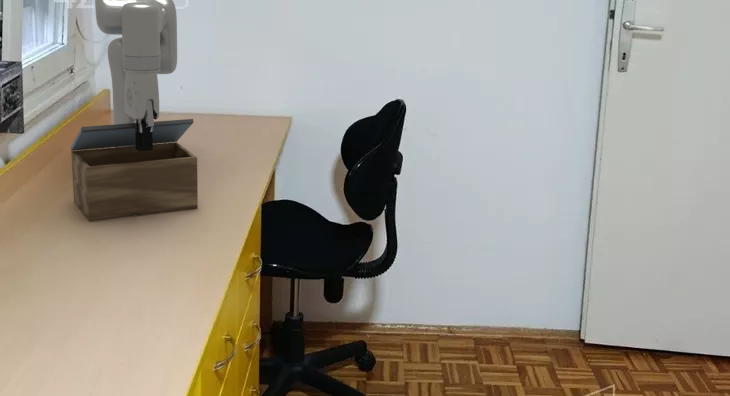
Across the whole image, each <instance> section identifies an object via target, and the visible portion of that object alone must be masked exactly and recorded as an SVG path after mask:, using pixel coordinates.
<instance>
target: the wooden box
mask: <svg viewBox="0 0 730 396" xmlns="http://www.w3.org/2000/svg"><path fill="white" fill-rule="evenodd" d="M70 152H71V168H72V170H71V171H72V173H71V174H72V185H73V186H72V191H73V203H74V205H76V207H77V208H78V210H79V211H80V212H81V213H82V214H83V215H84V217H85V218H86V220H87V221H88V222H89V223H90V222H98V221H99V222H100V221H107V220H114V219H115V220H116V219H122V218H133V217H138V216H145V215H147V216H148V215H153V214H154V215H155V214H164V213H169V212H170V213H171V212H179V211H188V210H195V209H198V205H199V203H198V202H199V200H198V197H199V195H198V189H199V188H198V157H197V156H196V155H194V154H193V153H192V152H191V151H190V150H188V149H186V148H185V147H184V146H183V145H181V144H180V143H178V141H177V142H169V143H158V144H153V149H152V150H150V151H138V150H137V149H136V146H127V147H110V148H98V149H86V150H75V151H70Z"/></svg>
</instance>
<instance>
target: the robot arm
mask: <svg viewBox="0 0 730 396" xmlns="http://www.w3.org/2000/svg"><path fill="white" fill-rule="evenodd" d="M94 4H95V5H94V7H95V19H96V24H97V27H98V28H99V30H100V31H101V32H102V33H103V34H106V35H115V36H117V35H121V37H117V38H114V39H112V40H111V41H110V42H109V43H108V46H107V59H108V64H109V70H110V77H111V87H112V88H111V89H112V108H113V109H112V110H113V113H112V114H113V125H115V124H129V123H135V130H136V131H135V140H136V145H134V146H136V149H137V150H138V151H150V150H152V149H153V138H152V131H153V127H154V122H155V121H156V120H157V119H159V117H160V95H159V94H160V91H159V81H158V80H159V79H158V75H169V74H172V73H174V72H175V71H176V70H177V65H178V30H177V29H178V19H177V9H176V5H175V3H174V0H94ZM154 120H155V121H154ZM122 147H127V146H122Z"/></svg>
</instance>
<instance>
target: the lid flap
mask: <svg viewBox="0 0 730 396" xmlns="http://www.w3.org/2000/svg"><path fill="white" fill-rule="evenodd" d="M193 124H194V119H193V118H188V119H187V118H186V119H185V118H183V119H173V120H172V119H171V120H158V121H154V127H153V131H152V138H153V144H163V143H174V142H177V143H178V142H179V140H180V139H181V138H182V137H183V135H184V134H185V133H186V132H187V131H188V129H189V128H190V127H192V125H193ZM135 131H136V130H135V123H129V124H115V125H114V124H105V125H104V124H102V125H90V126H89V125H88V126H81V128H80V130H79V132H78V133H77V134H76V136H75V139H74V141H73V142H72V144H71V146H70V150H71V151H80V150H92V149H103V148H115V147H122V146H134V145H136V140H135ZM71 151H70V152H71Z"/></svg>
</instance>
